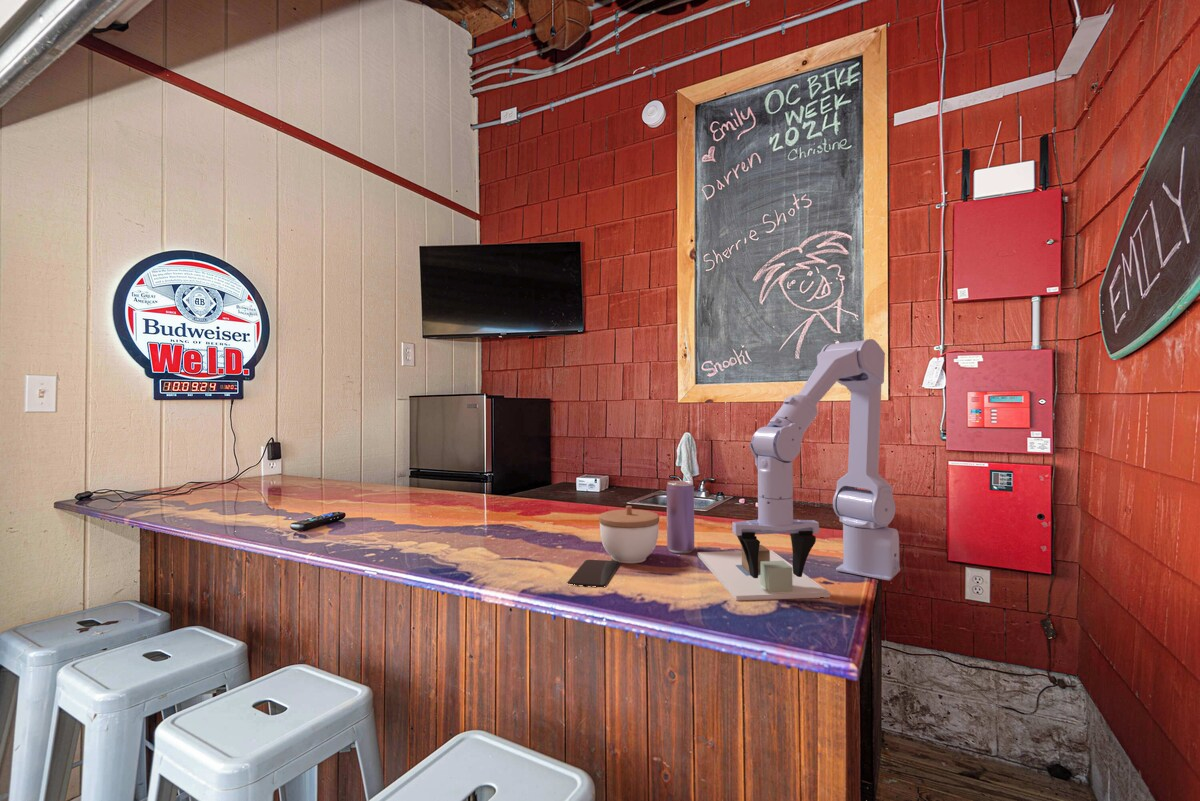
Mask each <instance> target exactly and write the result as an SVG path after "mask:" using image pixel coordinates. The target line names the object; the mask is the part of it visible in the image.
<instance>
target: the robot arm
mask: <svg viewBox="0 0 1200 801" xmlns="http://www.w3.org/2000/svg"><path fill="white" fill-rule="evenodd" d="M885 355H886V353H885V351H884V350H883V348H882V347H881V346H880V343H878V341H877V340H875V339H872V338H867V339H865V340H857V341H856V340H855V341H847V342H839V343H827V344H825V345H824V346H823V347H822V349H821V351H820V352H819V353H818V354H817V355H816V363H817V365H816V366H815V368H814V369H813V371H812V373H811V374H810V376H809V377H808V380H806V381H805V382H806V383H805V384H804V385H803V387H802V389H801V390H800V392H799V393H798V394H792V395H790V396H786V397H785V399H784V400H783V401H782V402H783V404H782V405H781V406H780V408H779V409H778V411H777V412H776V413H775V414H774V416H772V417H771V419H770V420H769V422H768V423H767V425H766V426H760V427H759V428H758V429H757V430H755V432H754V433H753V435H752V438H751V442H749V449H750V452H751V454H752V456H753V457H754V465H755V466H756V469H757V516H758V517H757V519H752V520H742V521H741V520H740V521H732V524H731V525H732V526H731V527H732V528H731V529H732V530H731V531H732V534H733V535H735V536H736V537H737V539H738V541H739V543H740V545H741V549H742V548H743V550H744V553H745V555H746V558H747V562H748V566H749V571H750V575H751V576H752V577H753V578H758V553H759V545H761V544H760V543H761V540H759V539H757V536H756V535H771V534H772V535H776V534H780V535H781V534H782V535H783V534H790V535H789V536H790V542H791V549H792V565H793V574H795V575H796V576H797V577H802V574H803V573H804V568H805V565H806V561H807V559H808V556H809V554H810V552H811V550H812V549H813V547H814V546H815V544H816V542H817V541H816V539H817V538H816V535H818V534H820V523H819V521H817V520H813V519H809V520H808V519H794V498H793V497H794V494H793V493H794V492H793V490H794V488H793V486H794V485H793V484H794V480H793V476H794V475H793V474H794V472H793V471H794V470H793V469H794V468H793V466H794V464H793V463H794V462H793V460H795V459H796V458H797V457H798V456H799V455H800V452H801V448H802V441H803V439H804V434H805V432H806V431H807V430H808V429H809V427H810V426H811V424H812V423H813V421H814V420H815V419H816V418H817V415H818V413H819V412H818V408H817V405H818V404H819V402H820V401H821V400H822V399H823V398H824V397H825V396H826V395H827V393H828V392H829V391H830V390H831V388H833V386H834V385H835V384H836V383H839V384H840V385H841V386H844V387H845V388H846V389H847V390H848V391H849V392H850V408H849V434H848V436H849V438H848V461H847V463H848V465H847V473H845V474H844V475H843V476H841V477H840V478H839V479H838V480H837V481H836V489H835V493H834V495H833V498H832V508H833V511H834V513H835V514H836V516H837V517H838V518H839V522H840V523H842V535H843V536H842V541H843V542H842V544H843V545H842V547H843V549H842V550H843V551H842V554H843V556H842V559H843V562H842V564H840V565H838V566H837V567H836V570H835V571H837V572H842V573H847V574H852V575H858V576H863V577H867V578H873V579H878V580H884V581H892V580H893V578H894V577H895V576H897V574H899V573H900V572H901V568H900V536H899V535H900V534H899V530H898V529H897V528H892V527H889V525H890V523H891V522H892V521H893V519H894V517H895V514H896V504H895V503H896V502H895V501H894V496H893V495H894V494H893V486H892V485H891V484H890V483H889V482H888V481H887V480H885V479H884V478H883V476H881V475H880V474H879V471H880V470H879V469H880V468H879V466H880V443H881V442H880V441H881V438H880V437H881V413H882V412H881V410H882V408H881V406H882V404H881V403H882V385H883V384H885V383H884V382H885V362H886V360H885V359H886V357H885Z"/></svg>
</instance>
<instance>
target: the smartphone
mask: <svg viewBox="0 0 1200 801" xmlns="http://www.w3.org/2000/svg"><path fill="white" fill-rule="evenodd" d="M620 565H621V563H619V562H618V561H614V560H606V559H605V560H604V559H585V560H584V561H583V562H582V564H581V565H580V566H579V568H578V569H577V570H576V571H575V572H574V573H573V575H572V576H571V577H570V578H569V579H568V581H567V582H566V584H567V583H568V584H573V585H574V584H575V585H586V586H585V587H587V586H596V587H595V588H597V587H604V586H606V585H607V584H608V585H609V583H610V581H611V580H612V578H613V577H614V575H613V574H615V573H616V572H617V570H618V568H619V566H620ZM612 576H613V577H612ZM611 577H612V578H611ZM610 579H611V580H610ZM609 580H610V581H609ZM608 582H609V583H608ZM608 585H607V586H608ZM607 586H606V587H607ZM604 588H605V587H604Z"/></svg>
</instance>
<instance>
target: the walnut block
mask: <svg viewBox="0 0 1200 801" xmlns="http://www.w3.org/2000/svg"><path fill="white" fill-rule="evenodd" d="M770 550H771V549H768V548H766V546H764V545H763V544H760V545H759V553H758V572H761V568H760V561H770ZM741 551H742V567H743V568H744V569H745V570H747V571H748V572H749V573H750V571H749V566H748V562H747V558H746V555H745V553H744V550H743V548H742V547H741Z"/></svg>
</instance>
